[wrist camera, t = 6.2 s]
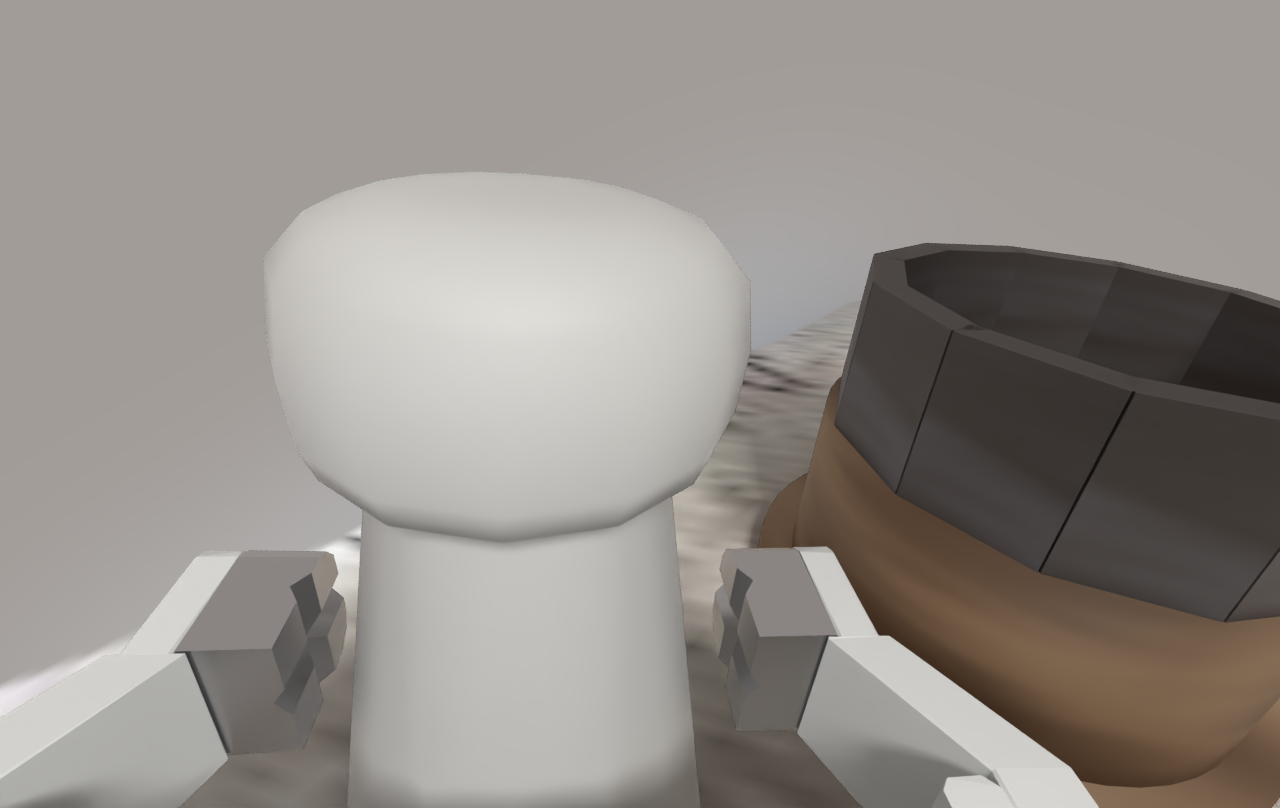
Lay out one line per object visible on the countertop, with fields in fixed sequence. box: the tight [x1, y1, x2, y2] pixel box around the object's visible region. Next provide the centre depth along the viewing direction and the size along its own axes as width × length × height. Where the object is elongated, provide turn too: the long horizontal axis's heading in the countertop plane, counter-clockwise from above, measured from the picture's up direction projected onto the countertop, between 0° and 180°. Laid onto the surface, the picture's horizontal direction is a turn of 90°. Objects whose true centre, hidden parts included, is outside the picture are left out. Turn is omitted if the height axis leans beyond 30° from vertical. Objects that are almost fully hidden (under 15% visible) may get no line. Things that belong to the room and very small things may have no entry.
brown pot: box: [758, 243, 1280, 808], centre depth 17 cm, size 14×14×10 cm
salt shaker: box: [264, 172, 751, 808], centre depth 8 cm, size 6×6×13 cm
